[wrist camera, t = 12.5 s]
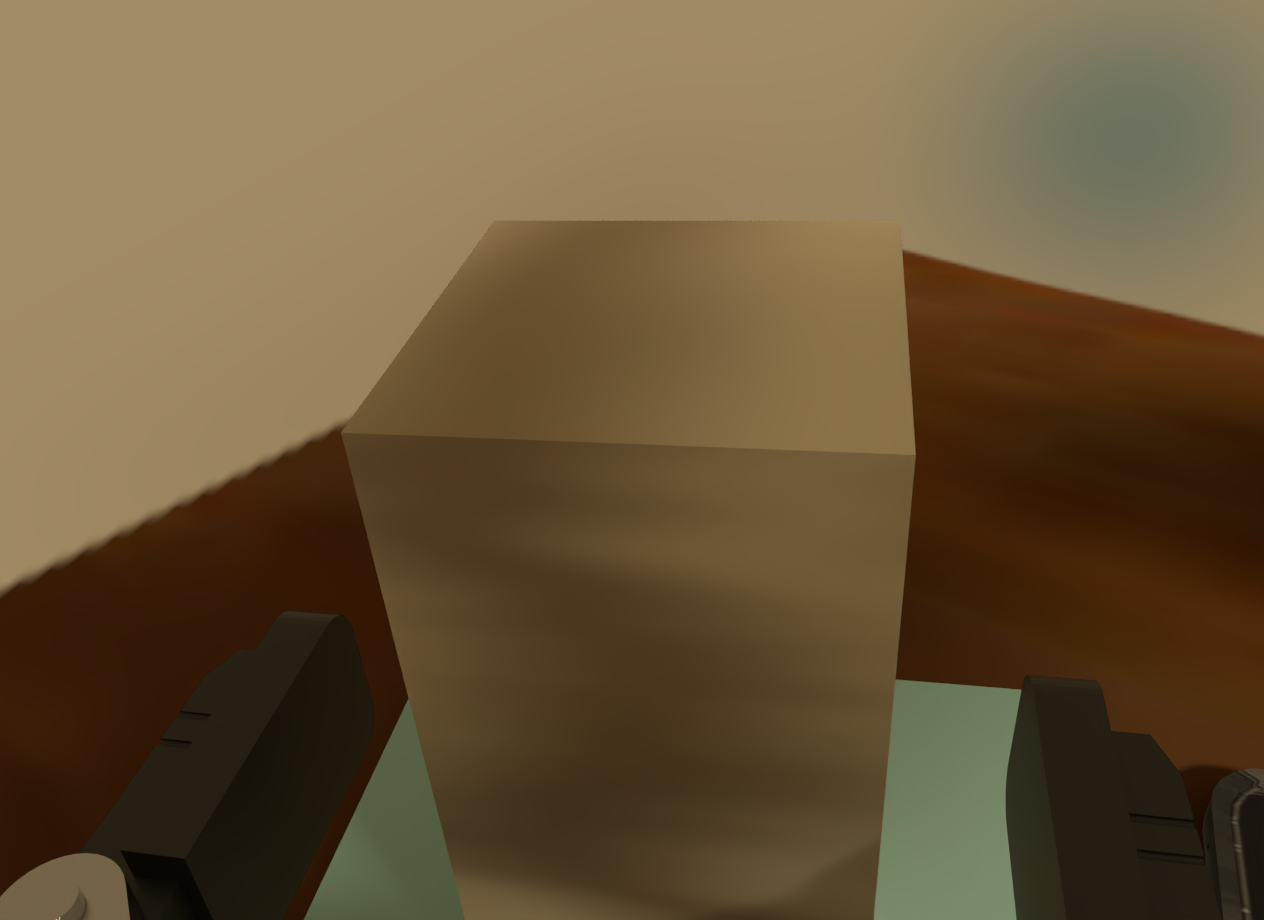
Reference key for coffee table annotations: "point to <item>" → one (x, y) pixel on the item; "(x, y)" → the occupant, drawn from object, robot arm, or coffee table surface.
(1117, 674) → the coffee table surface
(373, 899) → the green square tile
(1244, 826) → the phone
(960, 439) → the coffee table surface
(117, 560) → the coffee table surface
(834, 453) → the birch block
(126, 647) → the coffee table surface
